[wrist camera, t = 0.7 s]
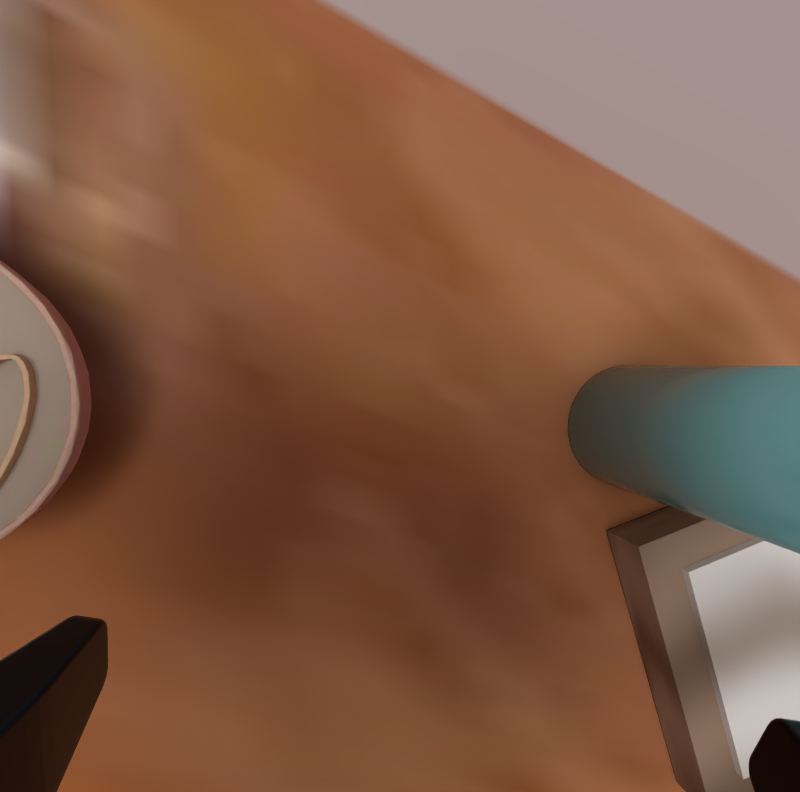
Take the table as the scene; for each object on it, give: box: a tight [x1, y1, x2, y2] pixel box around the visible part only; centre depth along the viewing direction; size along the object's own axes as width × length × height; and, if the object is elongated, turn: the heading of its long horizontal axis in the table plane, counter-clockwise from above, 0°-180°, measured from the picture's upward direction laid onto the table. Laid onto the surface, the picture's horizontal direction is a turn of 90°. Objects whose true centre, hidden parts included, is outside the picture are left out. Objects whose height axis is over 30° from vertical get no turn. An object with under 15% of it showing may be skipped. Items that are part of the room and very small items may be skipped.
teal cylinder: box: [568, 366, 800, 554], centre depth 18 cm, size 5×5×13 cm
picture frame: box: [606, 506, 800, 792], centre depth 25 cm, size 12×12×3 cm
